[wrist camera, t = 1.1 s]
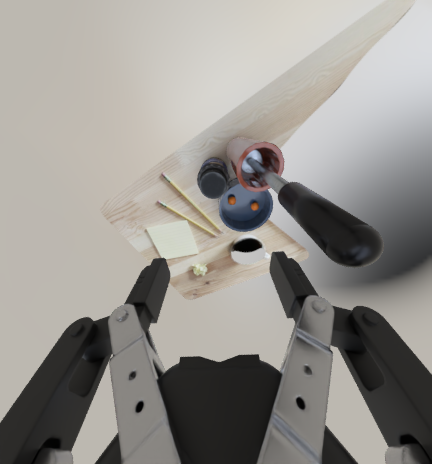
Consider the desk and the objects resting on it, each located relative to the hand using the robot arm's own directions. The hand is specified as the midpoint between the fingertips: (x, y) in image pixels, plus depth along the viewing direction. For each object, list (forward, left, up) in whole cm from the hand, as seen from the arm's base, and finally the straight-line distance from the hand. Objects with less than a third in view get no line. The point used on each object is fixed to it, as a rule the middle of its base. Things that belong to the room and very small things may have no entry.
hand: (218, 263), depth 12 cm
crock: (-2, +6, -29) cm, 30 cm away
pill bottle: (-1, 0, -29) cm, 29 cm away
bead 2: (+11, +5, -27) cm, 30 cm away
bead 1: (+7, 0, -27) cm, 28 cm away
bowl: (+9, +2, -29) cm, 30 cm away
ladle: (-2, +6, -15) cm, 16 cm away
